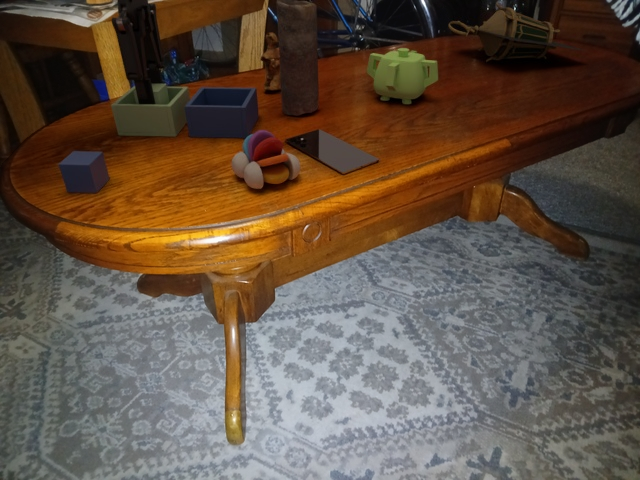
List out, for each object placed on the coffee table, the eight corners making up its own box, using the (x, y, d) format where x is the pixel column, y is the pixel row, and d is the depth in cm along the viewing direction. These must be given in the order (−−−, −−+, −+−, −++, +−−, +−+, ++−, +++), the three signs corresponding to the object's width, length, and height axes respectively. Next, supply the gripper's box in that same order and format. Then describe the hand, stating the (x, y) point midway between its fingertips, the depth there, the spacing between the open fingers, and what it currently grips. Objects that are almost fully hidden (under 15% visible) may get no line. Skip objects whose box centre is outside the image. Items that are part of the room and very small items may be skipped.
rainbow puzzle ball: (256, 198, 72) (252, 151, 68) (227, 173, 79) (221, 128, 75) (307, 182, 76) (306, 136, 72) (275, 159, 83) (272, 116, 79)
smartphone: (342, 172, 78) (283, 138, 88) (342, 176, 78) (283, 141, 89) (379, 159, 82) (319, 127, 92) (379, 162, 82) (319, 130, 92)
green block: (138, 115, 93) (133, 91, 90) (147, 107, 96) (142, 83, 94) (162, 116, 92) (158, 91, 90) (170, 107, 96) (166, 83, 94)
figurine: (291, 91, 111) (288, 33, 105) (267, 95, 109) (263, 36, 102) (281, 85, 115) (278, 28, 108) (258, 89, 112) (253, 32, 106)
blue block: (67, 192, 74) (58, 164, 72) (81, 178, 78) (73, 150, 76) (97, 193, 74) (88, 165, 72) (110, 178, 78) (102, 151, 75)
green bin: (118, 135, 92) (110, 105, 89) (140, 114, 101) (133, 85, 97) (176, 136, 91) (170, 106, 88) (192, 115, 100) (188, 86, 97)
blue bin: (189, 137, 91) (184, 106, 88) (204, 115, 100) (200, 86, 96) (248, 138, 90) (245, 107, 87) (258, 116, 99) (256, 87, 96)
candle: (283, 103, 105) (278, -4, 93) (319, 103, 104) (318, -4, 93) (280, 117, 98) (273, 4, 87) (318, 117, 98) (316, 4, 87)
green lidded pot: (437, 103, 104) (444, 53, 99) (386, 109, 101) (389, 58, 96) (411, 86, 113) (415, 39, 108) (363, 91, 110) (365, 44, 105)
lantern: (576, 82, 127) (483, 61, 114) (512, 67, 146) (426, 48, 133) (599, 24, 121) (504, -5, 109) (529, 16, 140) (442, -9, 127)
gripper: (127, -26, 74) (158, 128, 87) (166, -40, 88) (188, 94, 101) (77, -26, 74) (115, 128, 87) (124, -39, 89) (151, 94, 102)
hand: (154, 109), depth 94 cm, fingers closed on green block, 4 cm apart
